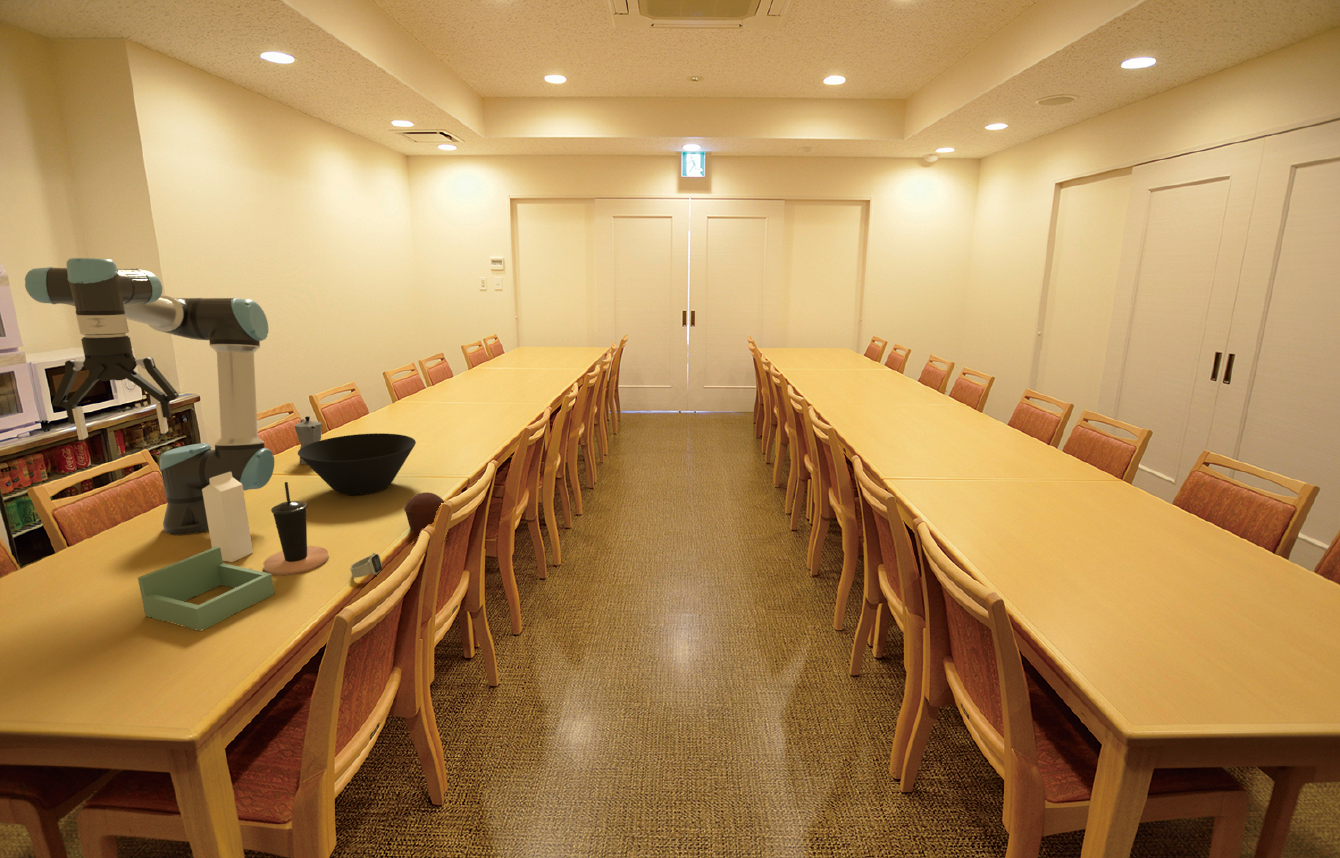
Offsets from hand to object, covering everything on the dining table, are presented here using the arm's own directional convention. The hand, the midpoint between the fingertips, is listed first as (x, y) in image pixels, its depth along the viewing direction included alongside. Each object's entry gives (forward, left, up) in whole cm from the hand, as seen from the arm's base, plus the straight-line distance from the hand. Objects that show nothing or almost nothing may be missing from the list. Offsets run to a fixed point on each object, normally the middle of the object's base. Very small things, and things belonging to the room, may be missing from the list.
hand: (125, 435), depth 132 cm
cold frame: (+18, 0, -37) cm, 41 cm away
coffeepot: (-54, +90, -37) cm, 111 cm away
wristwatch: (+37, +24, -37) cm, 58 cm away
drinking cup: (+17, +22, -36) cm, 45 cm away
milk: (-1, +19, -37) cm, 41 cm away
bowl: (-11, +72, -37) cm, 82 cm away
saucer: (+17, +22, -37) cm, 46 cm away
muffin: (+32, +52, -37) cm, 71 cm away
